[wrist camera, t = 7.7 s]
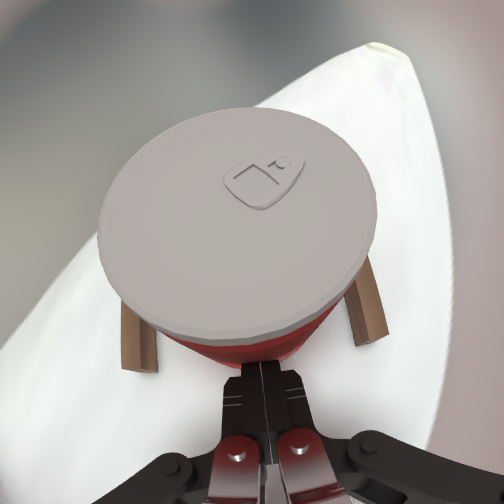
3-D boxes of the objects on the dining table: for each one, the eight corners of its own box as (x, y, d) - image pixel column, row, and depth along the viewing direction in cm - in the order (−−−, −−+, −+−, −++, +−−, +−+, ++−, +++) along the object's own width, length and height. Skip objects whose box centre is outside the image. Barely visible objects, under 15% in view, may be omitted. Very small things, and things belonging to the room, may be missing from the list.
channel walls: (140, 372, 15) (121, 368, 13) (139, 283, 18) (123, 268, 16) (373, 342, 15) (389, 334, 13) (351, 255, 18) (361, 236, 16)
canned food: (337, 284, 17) (407, 158, 7) (271, 395, 14) (280, 418, 5) (237, 230, 19) (212, 87, 10) (166, 325, 17) (53, 237, 7)
